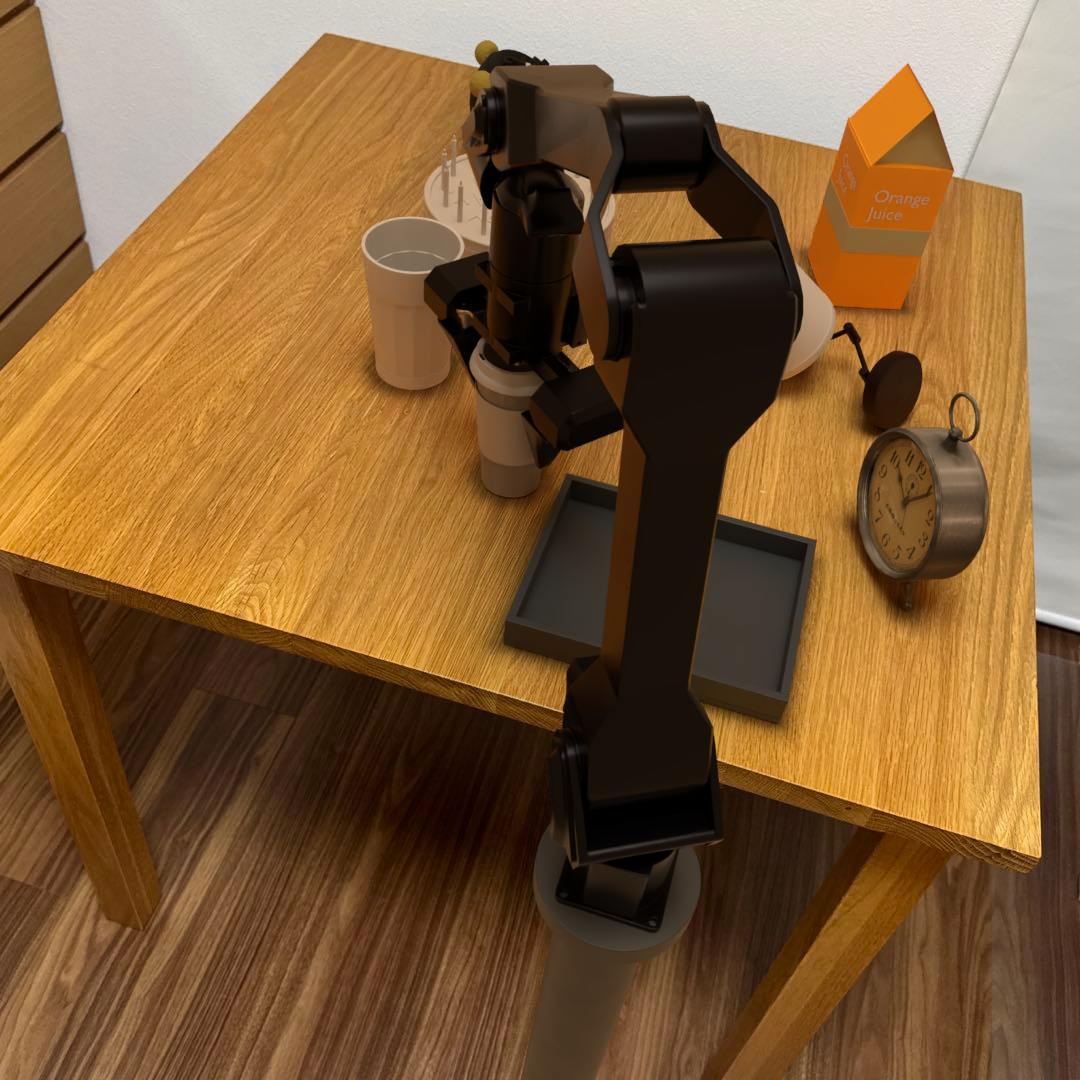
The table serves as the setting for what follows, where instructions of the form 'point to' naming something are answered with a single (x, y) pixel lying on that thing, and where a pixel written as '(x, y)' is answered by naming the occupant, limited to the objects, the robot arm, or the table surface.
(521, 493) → the cup
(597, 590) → the tray
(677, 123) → the robot arm
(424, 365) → the cup
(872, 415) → the light fixture
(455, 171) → the cake
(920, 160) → the orange juice
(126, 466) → the table surface
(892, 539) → the alarm clock
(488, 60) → the alarm clock
